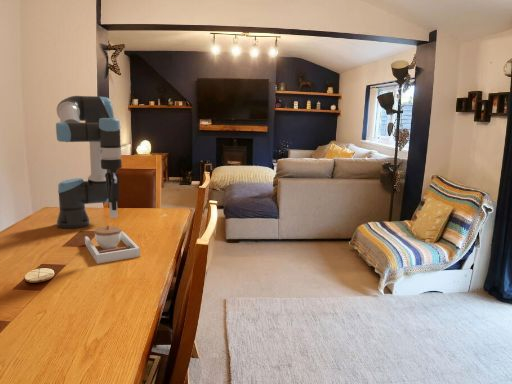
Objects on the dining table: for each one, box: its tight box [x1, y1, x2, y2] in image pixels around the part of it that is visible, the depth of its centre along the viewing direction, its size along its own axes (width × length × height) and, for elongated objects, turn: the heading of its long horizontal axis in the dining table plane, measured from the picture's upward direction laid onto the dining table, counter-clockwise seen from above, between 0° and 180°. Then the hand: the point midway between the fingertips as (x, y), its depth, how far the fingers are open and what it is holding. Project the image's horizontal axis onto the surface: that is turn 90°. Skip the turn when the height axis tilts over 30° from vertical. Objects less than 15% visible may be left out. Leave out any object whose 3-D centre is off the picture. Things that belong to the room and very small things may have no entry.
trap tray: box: [97, 246, 132, 254], centre depth 159 cm, size 8×13×2 cm, turn 123°
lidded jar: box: [94, 225, 122, 250], centre depth 168 cm, size 11×11×9 cm
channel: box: [84, 231, 141, 265], centre depth 165 cm, size 26×16×4 cm, turn 33°
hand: (113, 217), depth 156 cm, fingers closed
